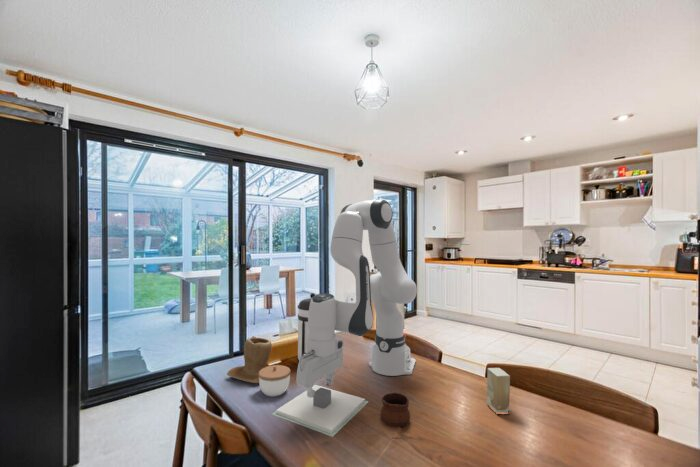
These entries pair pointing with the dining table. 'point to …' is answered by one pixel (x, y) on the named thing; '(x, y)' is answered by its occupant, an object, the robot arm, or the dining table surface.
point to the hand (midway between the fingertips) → (320, 390)
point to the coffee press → (303, 326)
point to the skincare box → (498, 389)
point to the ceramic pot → (395, 410)
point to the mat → (322, 430)
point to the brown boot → (252, 360)
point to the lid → (321, 408)
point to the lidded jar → (274, 380)
